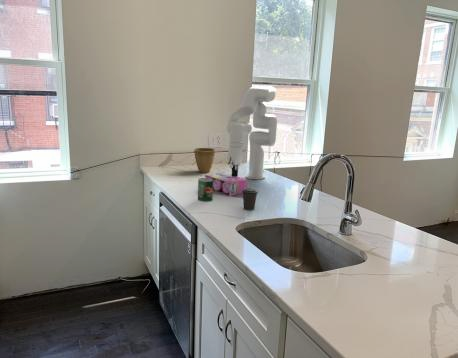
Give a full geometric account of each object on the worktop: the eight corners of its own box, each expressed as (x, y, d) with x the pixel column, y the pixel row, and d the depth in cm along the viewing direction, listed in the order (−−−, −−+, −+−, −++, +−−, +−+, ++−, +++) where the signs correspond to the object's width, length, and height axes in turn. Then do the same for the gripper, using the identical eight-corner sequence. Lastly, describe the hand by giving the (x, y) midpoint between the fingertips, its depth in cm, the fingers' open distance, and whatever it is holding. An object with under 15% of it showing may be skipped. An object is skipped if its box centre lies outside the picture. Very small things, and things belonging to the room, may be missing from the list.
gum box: (221, 183, 236) (203, 186, 227) (221, 171, 234) (203, 173, 225) (247, 192, 218) (229, 196, 209) (248, 179, 216) (229, 182, 208)
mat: (219, 186, 231) (219, 185, 231) (254, 192, 220) (254, 192, 220) (206, 191, 219) (206, 190, 219) (243, 198, 208) (243, 197, 208)
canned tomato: (210, 202, 198) (211, 181, 195) (195, 201, 199) (196, 180, 197) (214, 198, 205) (214, 178, 203) (200, 197, 207) (200, 177, 204)
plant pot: (193, 169, 276) (193, 147, 273) (213, 169, 278) (214, 148, 274) (193, 173, 262) (194, 150, 258) (215, 174, 264) (216, 151, 260)
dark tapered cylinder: (248, 205, 195) (249, 186, 193) (260, 209, 190) (261, 189, 188) (237, 208, 190) (238, 188, 188) (249, 212, 184) (250, 192, 182)
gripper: (236, 142, 225) (235, 173, 229) (223, 145, 212) (222, 177, 216) (247, 144, 221) (246, 175, 226) (235, 146, 209) (234, 179, 213)
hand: (234, 176), depth 221 cm, fingers closed
